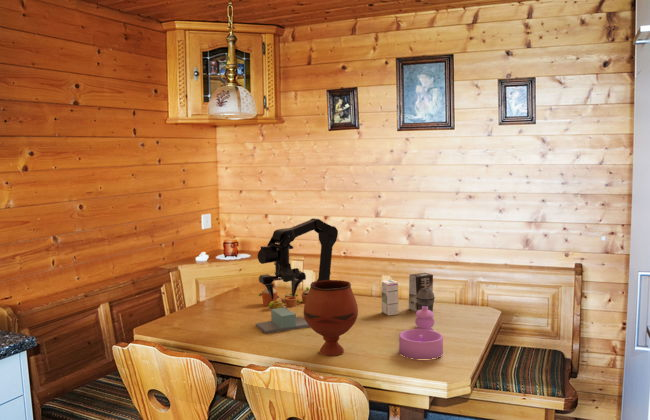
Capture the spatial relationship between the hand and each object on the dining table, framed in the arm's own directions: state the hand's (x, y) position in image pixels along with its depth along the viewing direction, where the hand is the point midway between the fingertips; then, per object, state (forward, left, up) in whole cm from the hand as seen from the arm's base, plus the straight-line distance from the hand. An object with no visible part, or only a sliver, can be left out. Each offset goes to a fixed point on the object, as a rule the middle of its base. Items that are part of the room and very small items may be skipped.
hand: (282, 298), depth 236 cm
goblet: (-3, +37, -12) cm, 39 cm away
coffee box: (-65, +6, -12) cm, 66 cm away
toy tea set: (-15, -32, -12) cm, 38 cm away
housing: (0, 0, -11) cm, 11 cm away
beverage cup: (-52, +27, -12) cm, 60 cm away
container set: (-34, +49, -12) cm, 61 cm away
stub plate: (0, 0, -12) cm, 12 cm away
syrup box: (-49, +5, -12) cm, 51 cm away
